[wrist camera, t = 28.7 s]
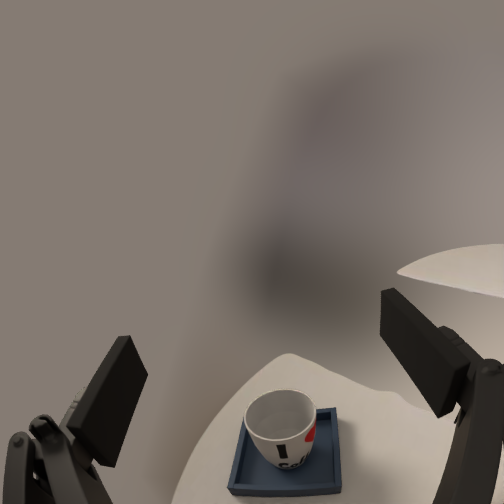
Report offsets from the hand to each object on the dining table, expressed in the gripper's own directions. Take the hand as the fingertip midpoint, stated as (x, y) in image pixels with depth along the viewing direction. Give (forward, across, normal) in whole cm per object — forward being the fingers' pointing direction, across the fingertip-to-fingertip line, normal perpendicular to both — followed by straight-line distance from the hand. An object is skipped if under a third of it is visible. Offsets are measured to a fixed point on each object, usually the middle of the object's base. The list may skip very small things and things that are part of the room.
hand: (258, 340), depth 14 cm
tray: (+10, 0, -28) cm, 30 cm away
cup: (+10, 0, -28) cm, 29 cm away
